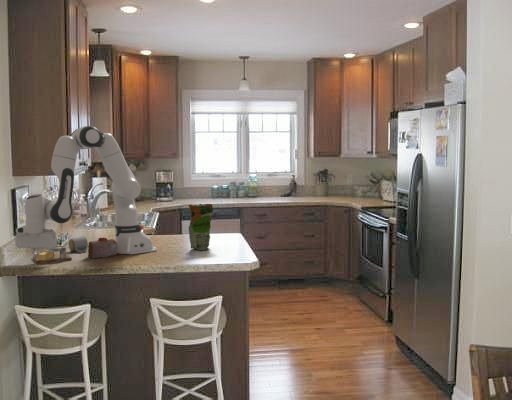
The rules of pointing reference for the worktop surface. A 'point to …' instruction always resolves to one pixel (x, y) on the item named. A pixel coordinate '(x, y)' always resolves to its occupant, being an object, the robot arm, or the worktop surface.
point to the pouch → (200, 226)
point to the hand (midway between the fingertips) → (36, 257)
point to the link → (45, 255)
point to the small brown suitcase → (102, 248)
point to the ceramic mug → (78, 244)
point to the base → (55, 256)
